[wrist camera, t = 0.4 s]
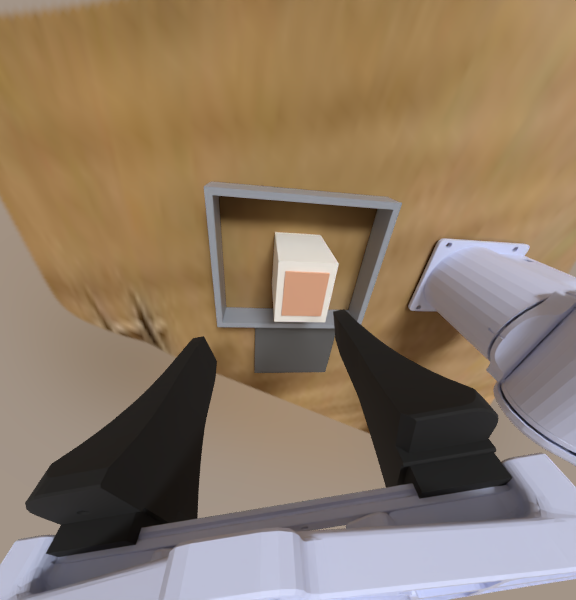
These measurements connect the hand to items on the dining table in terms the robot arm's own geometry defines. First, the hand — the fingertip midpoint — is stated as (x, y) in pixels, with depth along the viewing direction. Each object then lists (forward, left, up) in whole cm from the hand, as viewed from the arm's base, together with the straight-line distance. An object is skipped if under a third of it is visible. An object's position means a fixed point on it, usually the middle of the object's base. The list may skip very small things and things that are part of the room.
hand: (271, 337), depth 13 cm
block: (-2, 0, -10) cm, 11 cm away
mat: (-3, +11, -10) cm, 15 cm away
